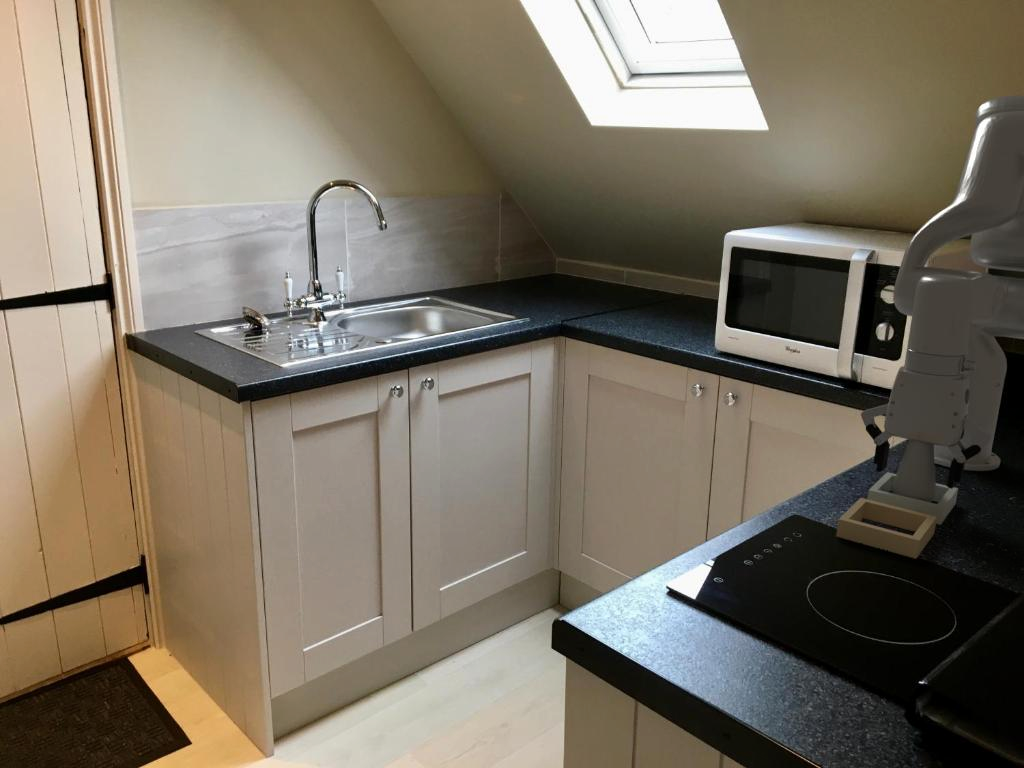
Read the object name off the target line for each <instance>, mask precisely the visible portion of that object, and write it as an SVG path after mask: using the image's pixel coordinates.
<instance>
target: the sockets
mask: <svg viewBox="0 0 1024 768" xmlns="http://www.w3.org/2000/svg"><path fill="white" fill-rule="evenodd" d="M896 475H897V473H892V472H888V471H887V472H885V473H884V474H883V476H881V477H880V478H879V479H878V480H877V481H876V482H875V483H874V484H873V485H872V486H871V487H870V488H869V489H868V492H867V498H863V497H860V498H859V499H858V500H857V501H856V502H855V503H853V504H852V505H851V506H850V507H849V508H848V509H847V511H845V513H843V514H842V515H841V516H840V517H839V518H838V520H837V526H836V527H837V529H836V537H837V538H840V539H844V540H847V541H850V542H851V541H852V542H854V543H858V544H861V543H862V544H861V545H866V546H870V547H872V548H876V549H879V548H880V550H883V549H884V550H883V551H887V550H888V552H891V553H894V554H898V555H901V556H905V557H908V558H912V559H917V558H918V557H919V556H920V554H921V553H922V551H923V550H924V548H925V547H926V546H927V544H928V543H929V542H930V540H932V537H933V536H934V535H935V530H936V525H940V526H941V525H942V524H943V523H944V521H945V520H946V519H947V517H948V515H949V514H950V513H951V511H952V510H953V508H954V507H955V505H956V503H957V498H958V491H959V488H958V487H955V486H954V487H953V489H951V488H948V487H947V485H944V484H941V483H937V482H936V494H935V497H934V498H933V500H932V501H931V502H926V501H922V500H918V499H914V498H910V497H905V496H901V495H897V494H894V493H893V491H892V485H893V482H894V480H895V477H896ZM933 502H934V503H933ZM864 519H866V520H868V521H869V520H870V521H872V522H877V523H880V524H885V525H888V526H892V527H897V528H899V529H904V530H907V531H911V532H914V533H913V535H912V534H907V533H904V532H899V531H896V530H893V529H888V528H884V527H881V526H877V525H873V524H869V523H866V522H862V521H863V520H864Z"/></svg>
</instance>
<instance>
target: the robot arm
mask: <svg viewBox="0 0 1024 768" xmlns="http://www.w3.org/2000/svg"><path fill="white" fill-rule="evenodd" d="M959 179H960V180H959V183H958V185H957V187H956V188H957V189H956V191H955V196H954V199H953V201H952V202H951V203H950V204H949V205H948V206H946V207H945V208H944V209H942V210H941V211H939V212H938V213H936V214H935V215H934V216H932V217H931V218H930V219H928V220H927V222H925V223H924V224H923V225H922V226H921V227H920V229H918V230H917V232H916V233H915V234H914V235H913V236H912V238H911V239H910V240H909V241H908V244H907V246H906V248H905V251H904V254H903V256H902V260H901V263H900V266H899V269H898V273H897V276H896V279H895V283H894V289H893V298H892V299H893V303H894V306H895V308H896V310H898V312H899V313H900V314H903V315H905V316H907V317H911V320H910V325H909V335H908V341H907V347H906V352H905V359H904V365H903V366H900V367H899V369H898V371H897V372H896V373H897V374H896V376H895V379H894V381H893V384H892V388H891V392H890V396H889V400H888V403H886V404H882V405H878V406H876V407H872V408H867V409H865V410H863V411H861V413H860V416H861V419H862V422H863V424H864V427H865V431H866V432H867V434H868V435H869V436H870V437H871V439H872V440H873V444H875V450H874V458H873V464H875V465H876V470H875V471H876V472H877V473H881V472H883V471H884V470H885V469H886V468H887V467H888V462H889V454H890V453H889V452H890V447H891V443H890V441H889V439H891V438H892V437H896V438H900V439H904V440H908V441H909V440H914V441H920V442H924V443H929V444H934V458H935V465H940V466H943V467H946V468H949V471H948V477H947V478H948V480H947V485H946V486H947V487H948V488H951V489H953V487H955V486H956V485H957V483H959V484H960V483H961V482H962V480H963V475H964V471H973V472H987V471H993V470H996V469H998V468H999V467H1000V466H1001V465H1000V464H1001V458H1000V457H999V456H998V455H997V454H996V453H994V452H992V448H993V444H994V438H995V432H996V427H997V422H998V417H999V412H1000V411H999V410H1000V406H1001V401H1002V394H1003V390H1004V385H1005V378H1006V375H1007V371H1008V370H1007V369H1008V364H1007V363H1008V362H1007V358H1006V355H1005V352H1004V351H1003V349H1002V347H1001V346H1000V344H999V343H998V341H997V340H996V337H1001V338H1002V337H1005V338H1012V339H1020V340H1024V278H1017V277H1011V276H1004V275H1003V276H1000V275H992V274H991V273H987V272H980V271H970V270H960V269H953V268H942V267H933V266H932V267H931V266H926V265H927V263H928V261H929V259H930V258H931V256H932V255H933V254H934V253H935V252H936V251H938V250H939V249H941V248H942V247H945V245H948V244H949V243H951V242H954V241H957V240H960V239H962V238H965V237H968V236H971V239H970V246H969V256H970V259H971V261H972V262H973V263H974V264H975V265H978V266H981V267H983V268H987V269H988V268H989V269H995V270H1002V271H1003V270H1004V271H1013V272H1024V94H1017V95H1006V96H998V97H995V98H990V99H988V100H986V101H985V102H983V103H982V104H981V105H980V106H979V107H978V108H977V111H976V114H975V118H974V131H973V136H972V139H971V143H970V145H969V148H968V152H967V155H966V158H965V162H964V166H963V169H962V173H961V176H960V178H959ZM883 415H884V416H885V418H884V426H883V427H884V428H883V429H884V431H882V430H881V429H880V427H879V425H877V423H876V422H875V417H879V416H883ZM919 434H920V436H921V437H920V438H918V435H919Z"/></svg>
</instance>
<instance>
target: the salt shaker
mask: <svg viewBox="0 0 1024 768" xmlns="http://www.w3.org/2000/svg"><path fill="white" fill-rule="evenodd" d="M920 437H921V436H920V434H919V435H918V438H920ZM896 474H897V475H896V477H895V480H894V482H893V485H892V491H891V492H892V493H893V494H897V495H901V496H905V497H910V498H914V499H918V500H922V501H926V502H930V503H932V502H933V501H932V500H933V498H934V497H935V494H936V483H937V482H936V463H935V458H934V444H929V443H924V442H920V441H914V440H909V439H908V442H907V446H906V449H905V451H904V455H903V457H902V459H901V461H900V464H899V467H898V470H897V472H896Z"/></svg>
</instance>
